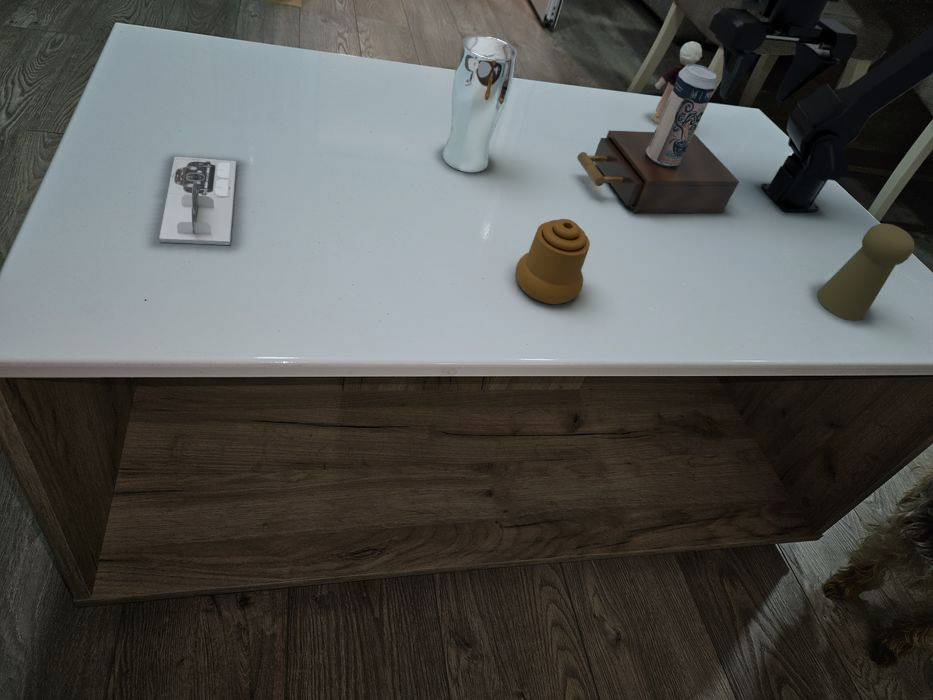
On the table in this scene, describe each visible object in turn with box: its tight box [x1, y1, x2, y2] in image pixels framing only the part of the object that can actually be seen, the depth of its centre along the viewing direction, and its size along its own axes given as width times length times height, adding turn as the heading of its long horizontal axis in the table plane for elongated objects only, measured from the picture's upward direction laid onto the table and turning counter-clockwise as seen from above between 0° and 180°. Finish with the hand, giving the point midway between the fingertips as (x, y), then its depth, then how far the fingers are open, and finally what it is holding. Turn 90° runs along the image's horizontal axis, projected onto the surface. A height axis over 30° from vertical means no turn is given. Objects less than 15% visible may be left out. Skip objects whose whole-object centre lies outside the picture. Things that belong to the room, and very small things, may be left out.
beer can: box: [646, 63, 717, 167], centre depth 87 cm, size 5×5×12 cm
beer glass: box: [442, 34, 518, 173], centre depth 86 cm, size 7×7×15 cm
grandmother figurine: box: [650, 40, 703, 125], centre depth 107 cm, size 8×4×13 cm, turn 115°
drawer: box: [576, 137, 645, 207], centre depth 93 cm, size 18×11×3 cm, turn 107°
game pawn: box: [816, 223, 915, 322], centre depth 81 cm, size 6×6×11 cm
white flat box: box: [158, 155, 237, 246], centre depth 72 cm, size 15×7×4 cm, turn 11°
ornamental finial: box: [515, 218, 591, 305], centre depth 73 cm, size 8×8×8 cm
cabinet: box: [605, 129, 740, 214], centre depth 94 cm, size 14×12×5 cm
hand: (751, 99), depth 91 cm, fingers open, 9 cm apart
